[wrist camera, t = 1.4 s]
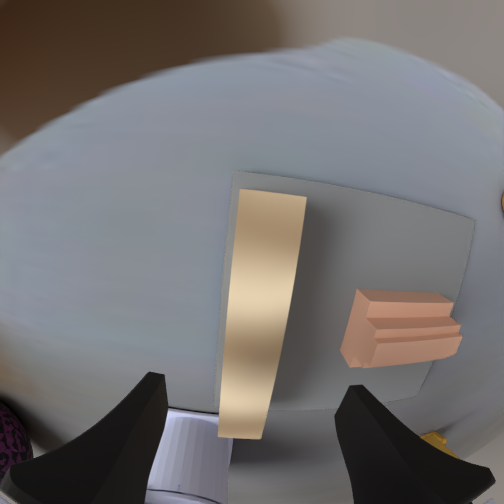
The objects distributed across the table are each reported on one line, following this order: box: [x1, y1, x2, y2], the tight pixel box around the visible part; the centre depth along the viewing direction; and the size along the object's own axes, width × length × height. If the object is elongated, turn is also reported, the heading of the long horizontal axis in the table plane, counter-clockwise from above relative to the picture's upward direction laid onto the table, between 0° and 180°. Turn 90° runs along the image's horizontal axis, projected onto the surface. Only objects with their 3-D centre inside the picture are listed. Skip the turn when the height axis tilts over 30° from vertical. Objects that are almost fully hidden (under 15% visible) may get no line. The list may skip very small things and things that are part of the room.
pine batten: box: [218, 189, 307, 439], centre depth 16 cm, size 16×3×4 cm, turn 173°
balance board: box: [214, 171, 475, 411], centre depth 16 cm, size 18×20×6 cm
